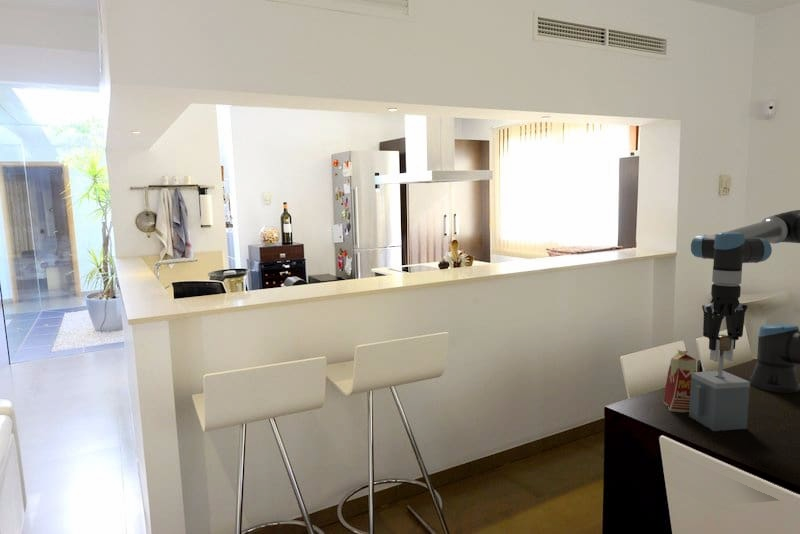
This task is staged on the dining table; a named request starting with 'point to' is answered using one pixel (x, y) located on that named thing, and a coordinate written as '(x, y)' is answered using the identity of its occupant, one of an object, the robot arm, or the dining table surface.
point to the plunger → (722, 351)
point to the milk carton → (679, 382)
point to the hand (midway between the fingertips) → (721, 359)
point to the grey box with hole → (719, 400)
